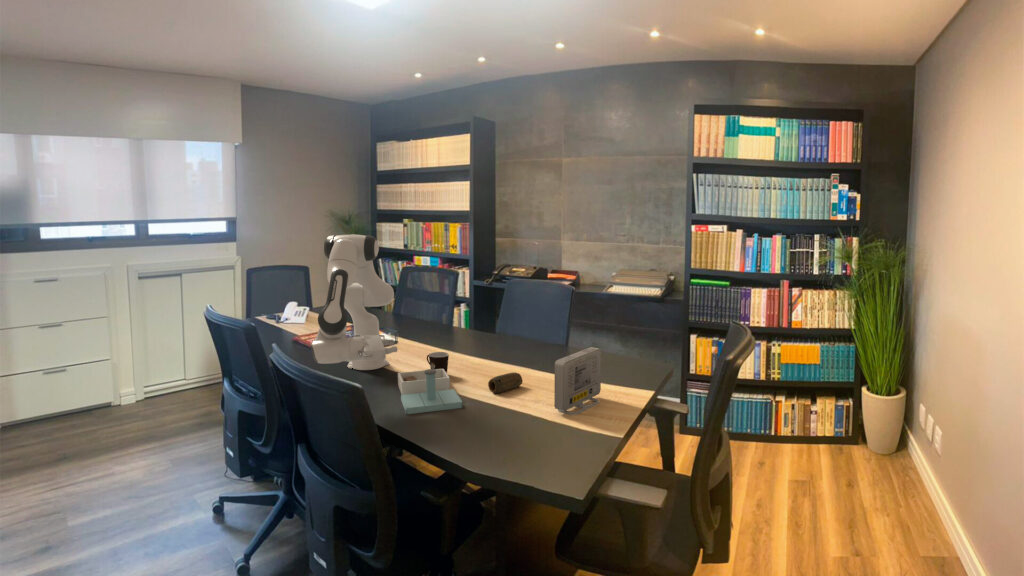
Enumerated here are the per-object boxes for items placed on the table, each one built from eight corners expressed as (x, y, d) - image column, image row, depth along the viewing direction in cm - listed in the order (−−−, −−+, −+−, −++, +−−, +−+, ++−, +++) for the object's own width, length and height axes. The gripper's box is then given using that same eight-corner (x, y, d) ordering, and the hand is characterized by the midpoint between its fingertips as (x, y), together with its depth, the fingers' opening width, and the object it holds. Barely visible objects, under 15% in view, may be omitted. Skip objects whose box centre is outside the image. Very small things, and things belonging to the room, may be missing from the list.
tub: (398, 386, 252) (397, 372, 251) (443, 382, 257) (443, 368, 256) (402, 397, 240) (401, 382, 239) (449, 391, 245) (449, 377, 244)
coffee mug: (451, 378, 262) (451, 355, 261) (432, 380, 259) (431, 358, 258) (444, 371, 273) (443, 349, 271) (425, 373, 270) (424, 351, 268)
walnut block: (404, 386, 250) (403, 377, 249) (413, 385, 252) (412, 375, 251) (407, 389, 247) (407, 380, 246) (417, 387, 249) (416, 378, 248)
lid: (400, 400, 236) (399, 367, 233) (454, 394, 242) (453, 362, 239) (406, 414, 221) (404, 379, 219) (462, 407, 227) (461, 373, 225)
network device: (587, 394, 241) (587, 345, 237) (606, 399, 235) (607, 348, 232) (549, 413, 221) (549, 359, 218) (569, 418, 216) (569, 364, 212)
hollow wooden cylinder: (499, 396, 239) (499, 380, 238) (486, 393, 244) (486, 376, 243) (524, 387, 251) (524, 371, 250) (511, 383, 255) (511, 368, 254)
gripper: (358, 348, 215) (398, 345, 219) (355, 333, 234) (392, 330, 238) (359, 365, 216) (399, 361, 220) (356, 349, 235) (392, 345, 239)
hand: (395, 345), depth 229 cm, fingers open, 8 cm apart
